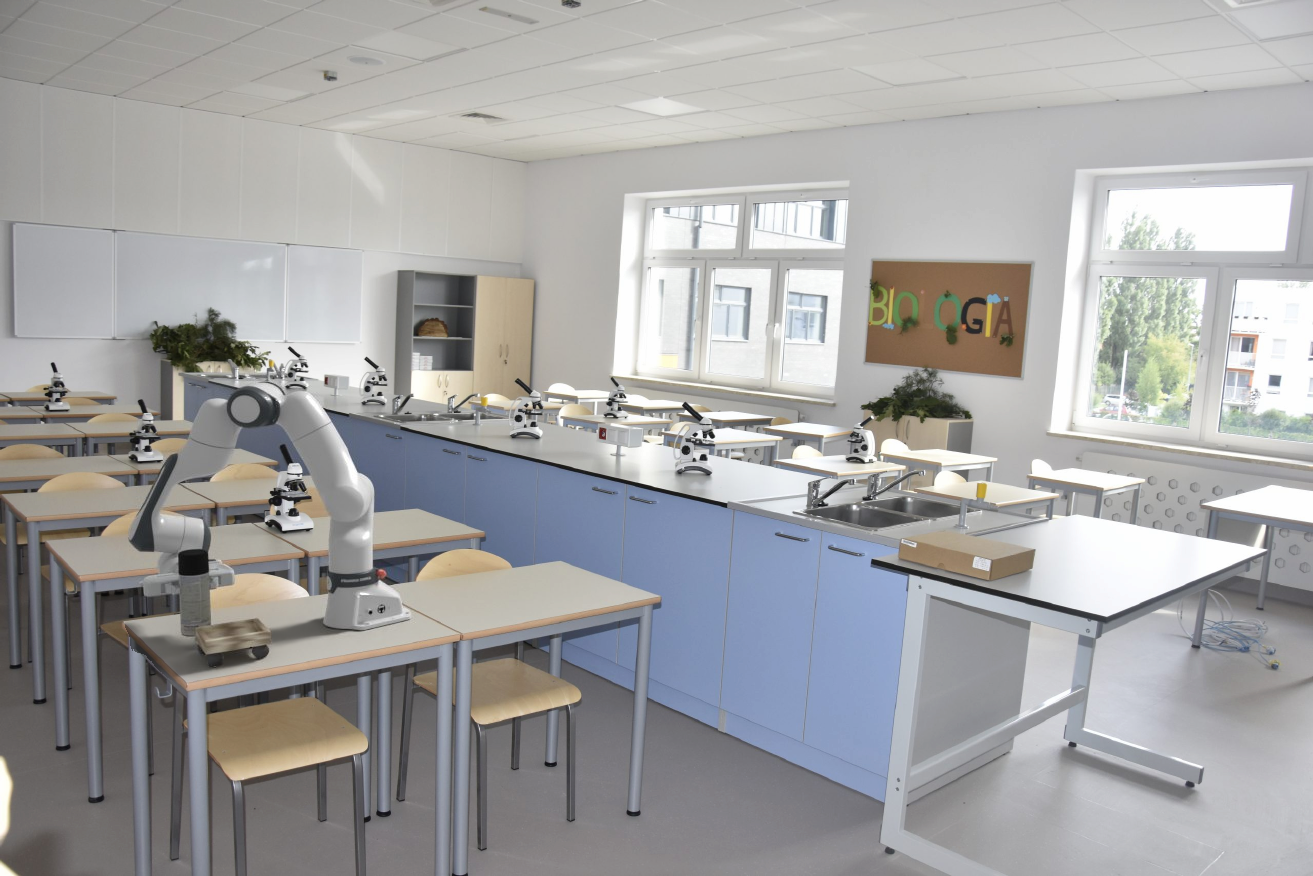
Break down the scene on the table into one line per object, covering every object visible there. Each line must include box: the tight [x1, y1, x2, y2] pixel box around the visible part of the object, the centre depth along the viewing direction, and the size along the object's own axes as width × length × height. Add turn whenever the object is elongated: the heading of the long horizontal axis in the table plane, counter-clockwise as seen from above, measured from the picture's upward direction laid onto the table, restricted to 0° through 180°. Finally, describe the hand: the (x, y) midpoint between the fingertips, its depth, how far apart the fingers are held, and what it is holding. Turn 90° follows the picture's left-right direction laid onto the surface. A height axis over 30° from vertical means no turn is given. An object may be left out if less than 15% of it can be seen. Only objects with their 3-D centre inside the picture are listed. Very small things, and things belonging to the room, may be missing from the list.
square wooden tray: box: [194, 617, 272, 668], centre depth 223 cm, size 14×12×6 cm
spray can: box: [178, 549, 212, 638], centre depth 228 cm, size 7×7×20 cm
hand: (195, 588), depth 227 cm, fingers closed on spray can, 7 cm apart
